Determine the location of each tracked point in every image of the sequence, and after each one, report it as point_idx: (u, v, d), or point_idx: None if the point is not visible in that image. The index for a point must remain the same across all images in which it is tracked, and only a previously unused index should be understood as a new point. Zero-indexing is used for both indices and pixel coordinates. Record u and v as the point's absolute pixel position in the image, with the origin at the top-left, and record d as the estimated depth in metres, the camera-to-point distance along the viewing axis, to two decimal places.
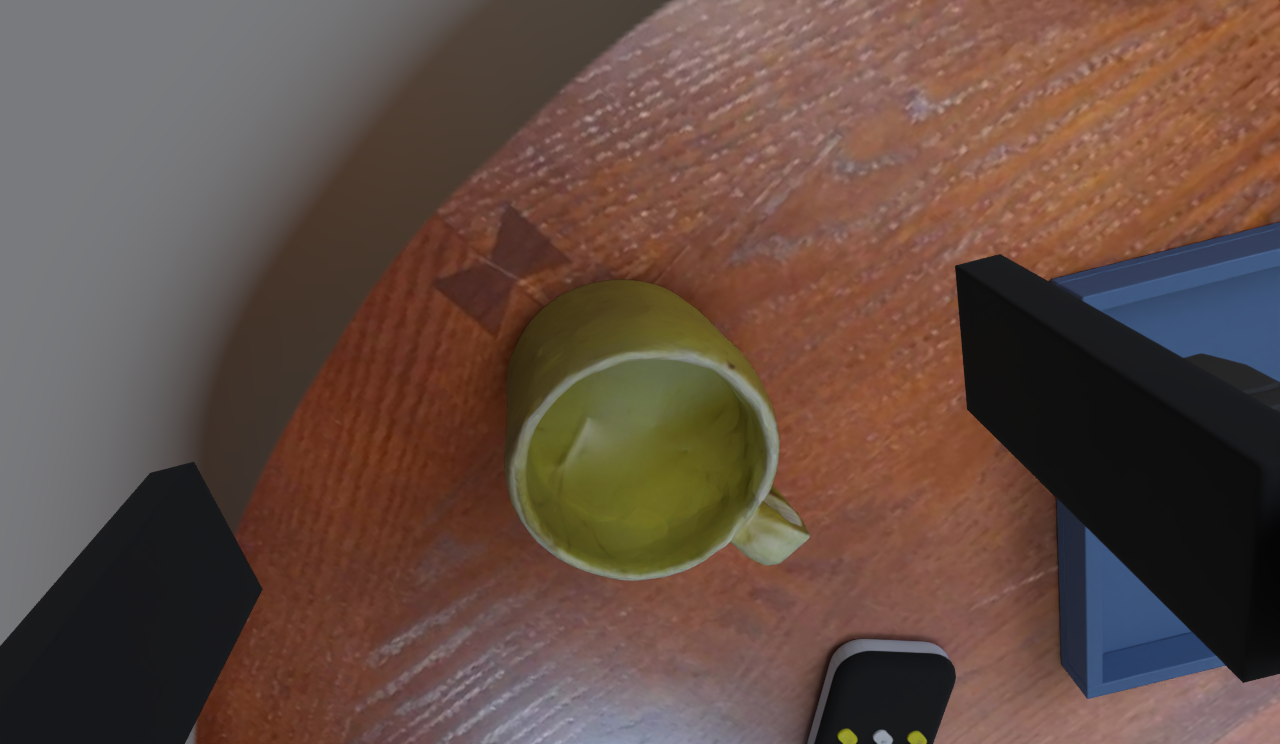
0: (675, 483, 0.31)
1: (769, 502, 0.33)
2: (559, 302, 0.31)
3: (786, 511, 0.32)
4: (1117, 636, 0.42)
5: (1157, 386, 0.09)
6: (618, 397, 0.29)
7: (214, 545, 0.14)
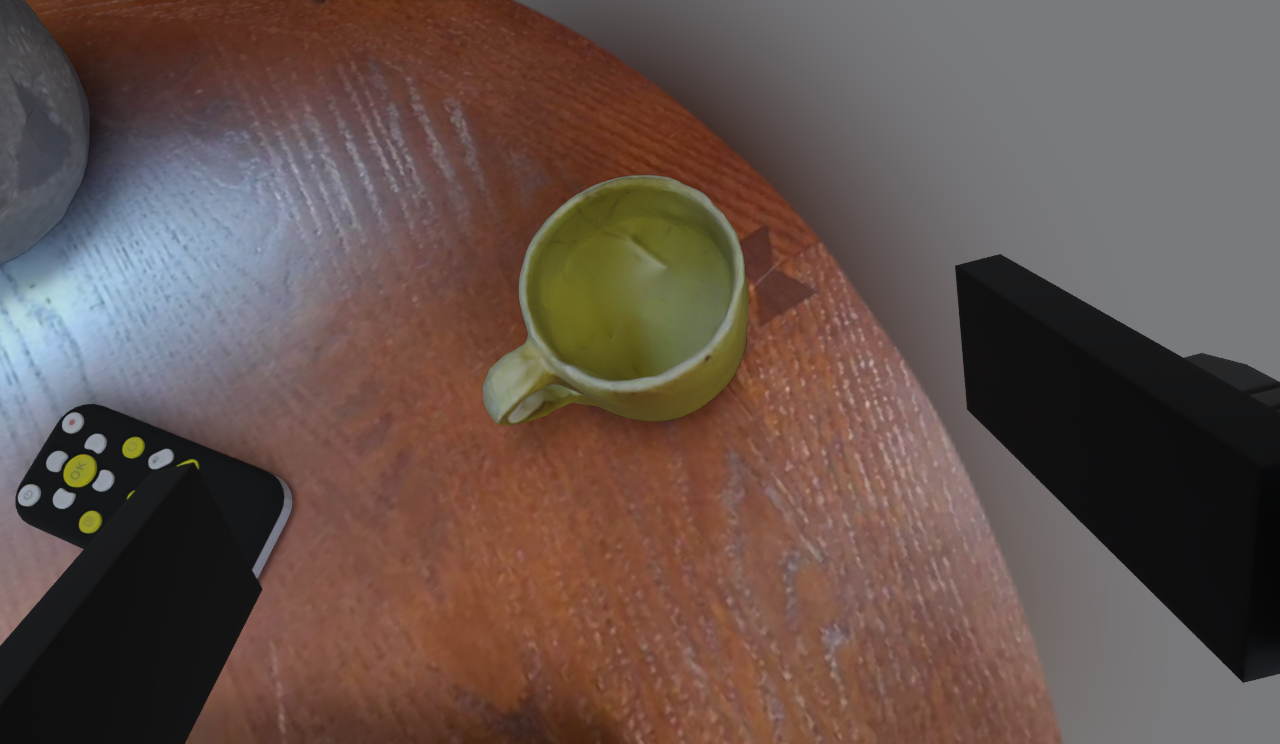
0: (584, 322, 0.35)
1: (528, 406, 0.35)
2: None
3: (519, 413, 0.34)
4: None
5: (1157, 386, 0.09)
6: (677, 293, 0.35)
7: (214, 545, 0.14)
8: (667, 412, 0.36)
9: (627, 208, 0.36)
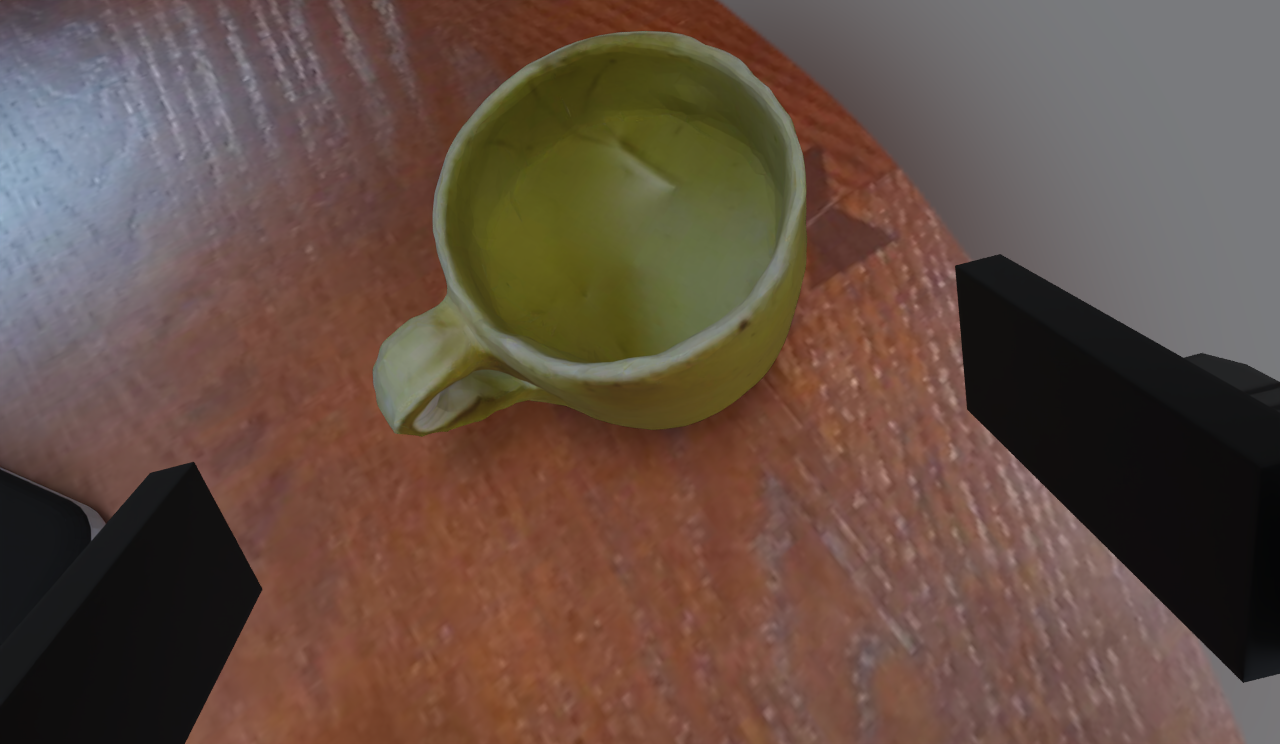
0: (541, 272, 0.22)
1: (452, 404, 0.22)
2: None
3: (435, 416, 0.21)
4: None
5: (1157, 386, 0.09)
6: (691, 228, 0.22)
7: (214, 545, 0.14)
8: (673, 416, 0.23)
9: (613, 93, 0.23)
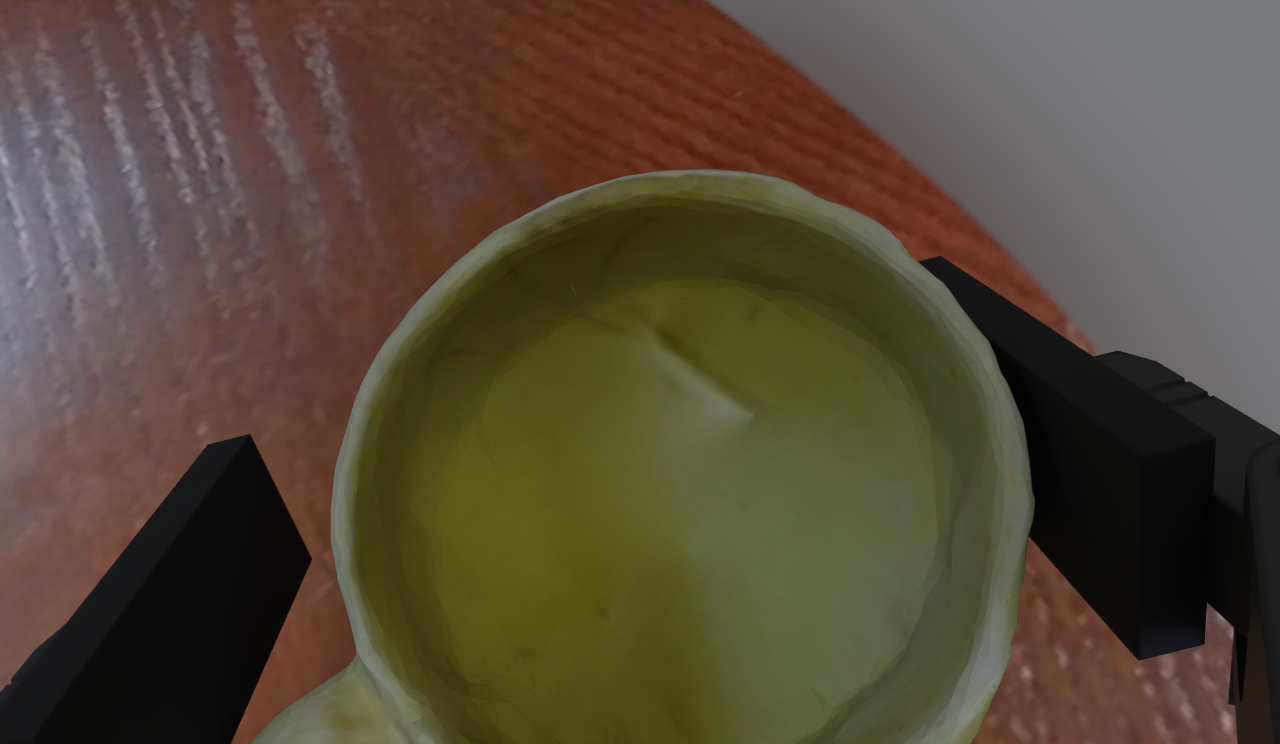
0: (530, 570, 0.13)
1: None
2: None
3: None
4: None
5: (1061, 382, 0.10)
6: (784, 491, 0.13)
7: (269, 514, 0.14)
8: None
9: (646, 259, 0.13)
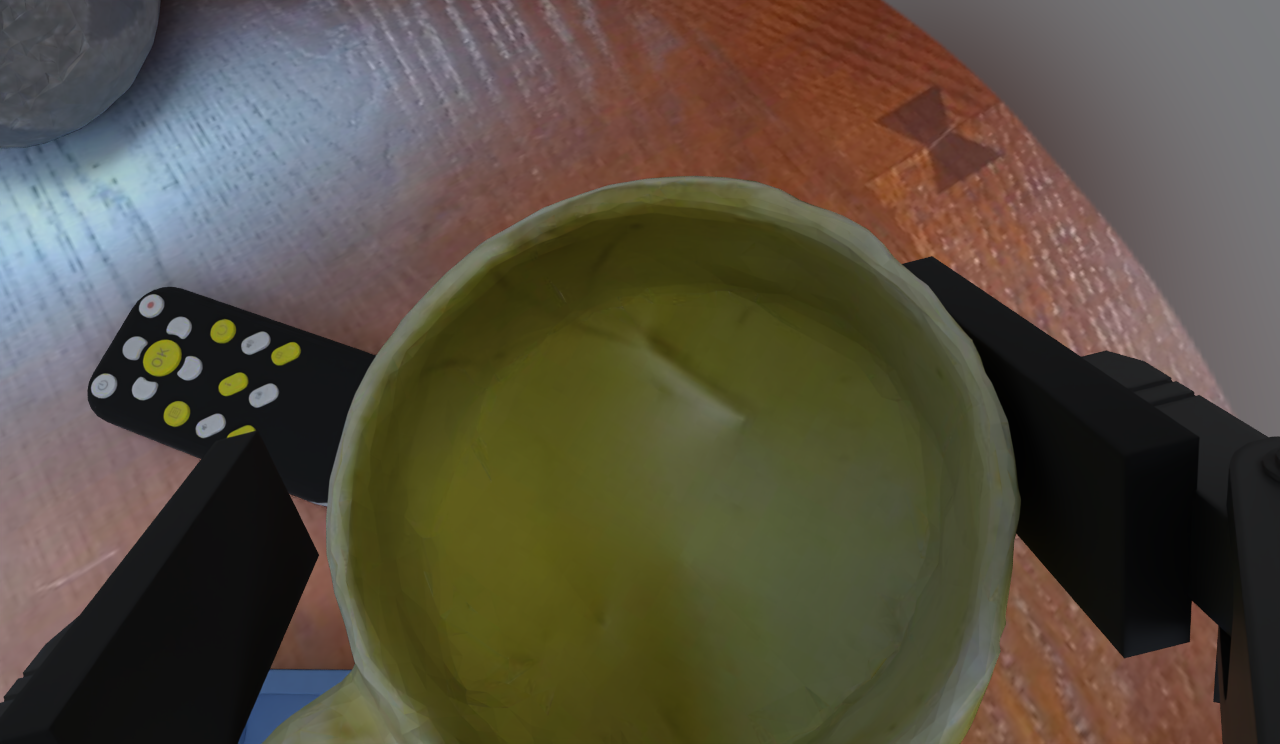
0: (526, 577, 0.13)
1: None
2: None
3: None
4: None
5: (1048, 381, 0.10)
6: (777, 493, 0.13)
7: (277, 510, 0.14)
8: None
9: (635, 265, 0.13)
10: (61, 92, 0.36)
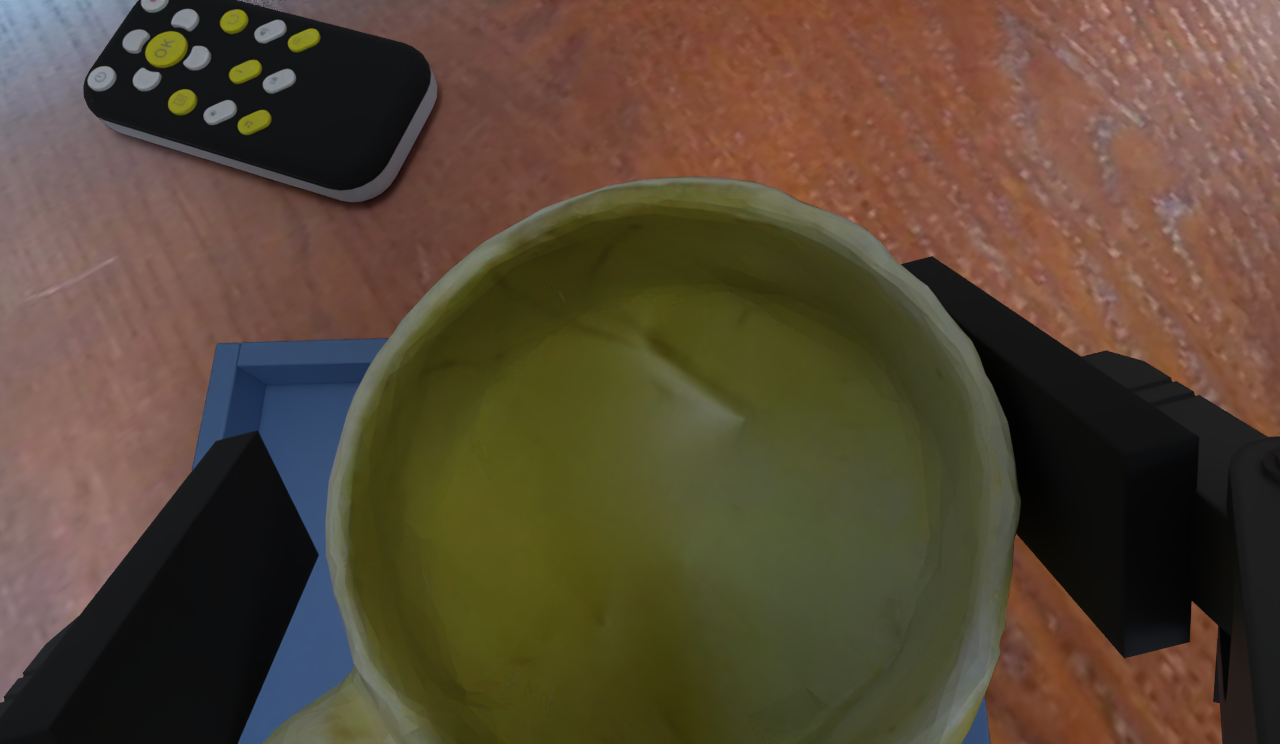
0: (525, 578, 0.13)
1: None
2: None
3: None
4: (283, 439, 0.26)
5: (1048, 381, 0.10)
6: (776, 493, 0.13)
7: (277, 510, 0.14)
8: None
9: (634, 266, 0.13)
10: None
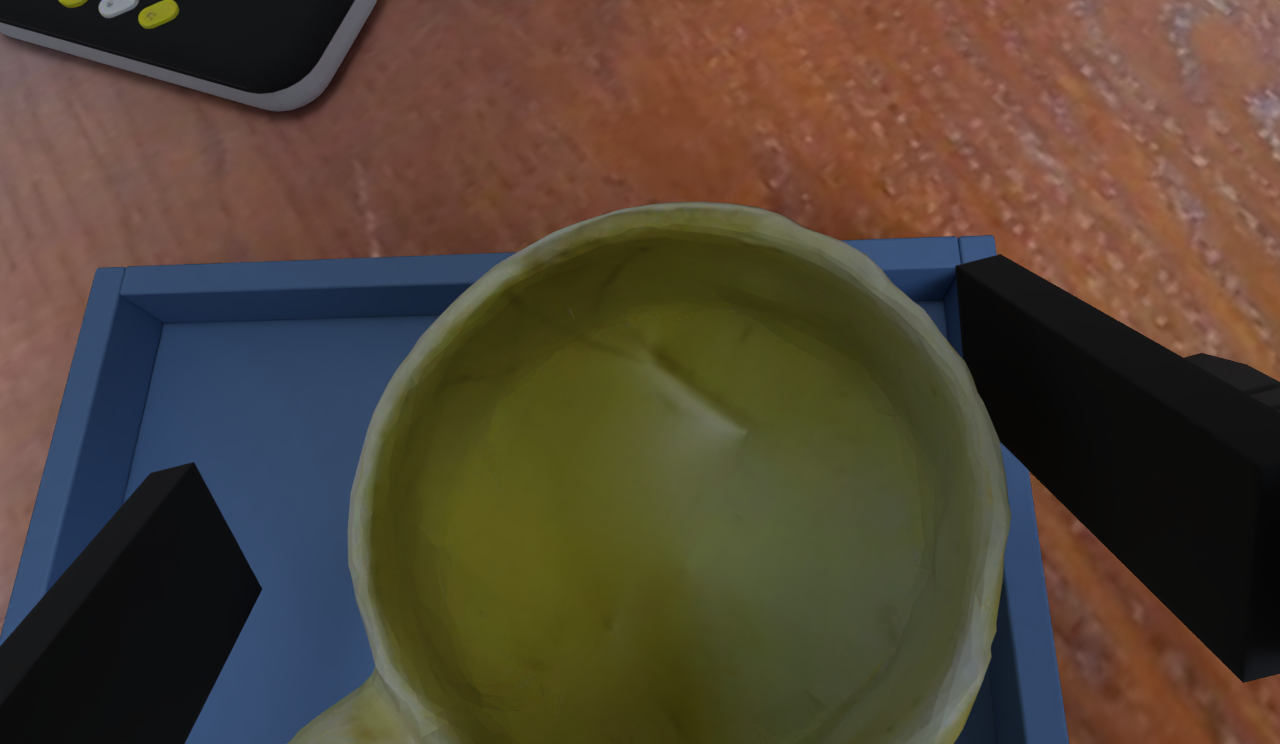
0: (537, 585, 0.14)
1: None
2: None
3: None
4: (181, 388, 0.22)
5: (1157, 386, 0.09)
6: (777, 504, 0.14)
7: (214, 545, 0.14)
8: None
9: (641, 285, 0.14)
10: None
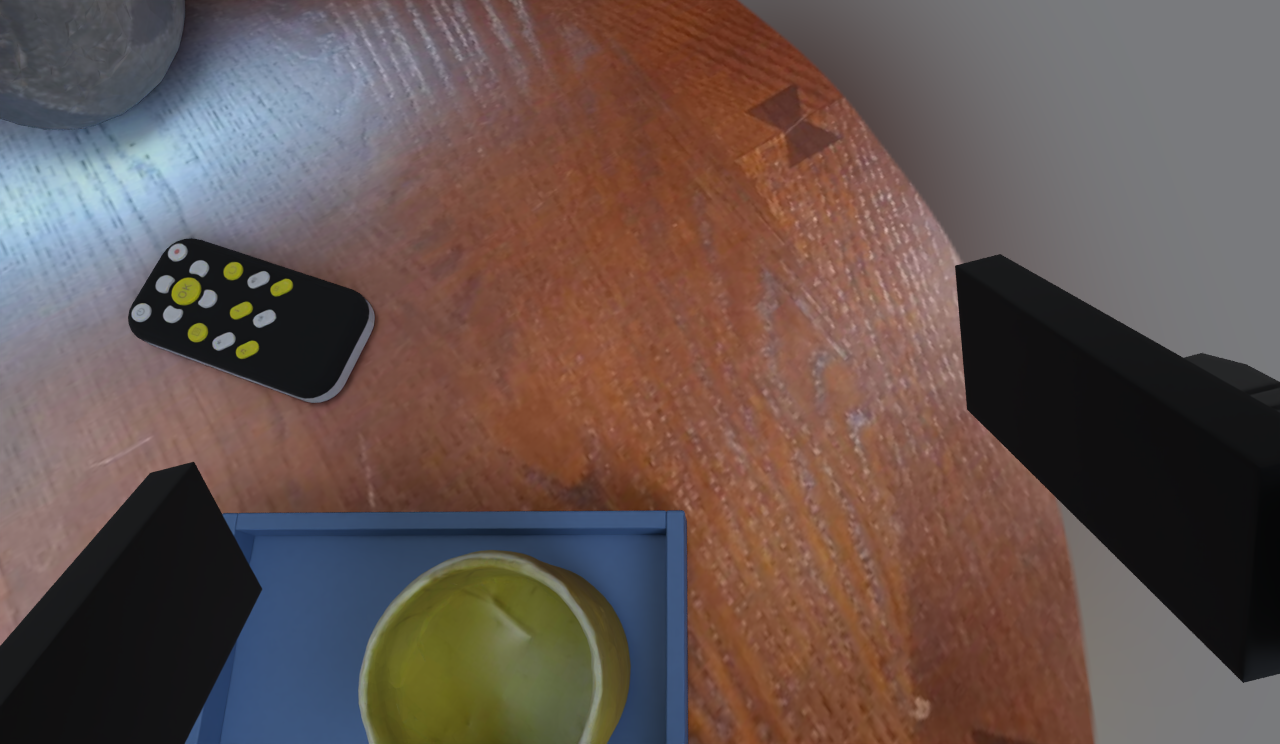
0: (438, 705, 0.32)
1: None
2: (623, 634, 0.35)
3: None
4: (266, 574, 0.40)
5: (1157, 386, 0.09)
6: (541, 670, 0.32)
7: (214, 545, 0.14)
8: None
9: (485, 573, 0.32)
10: (109, 85, 0.46)
